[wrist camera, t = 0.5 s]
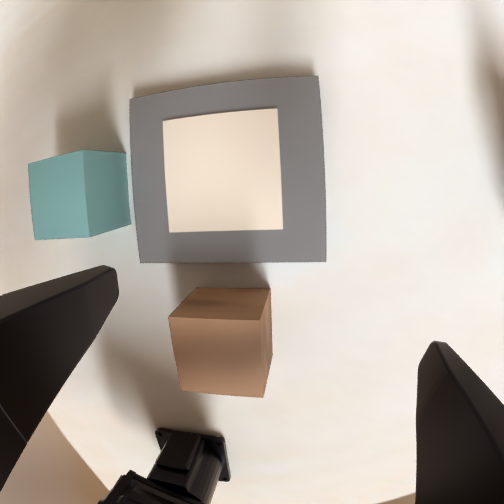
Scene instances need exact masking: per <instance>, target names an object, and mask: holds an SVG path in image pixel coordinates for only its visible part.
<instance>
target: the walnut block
mask: <svg viewBox="0 0 504 504" xmlns="http://www.w3.org/2000/svg"><path fill="white" fill-rule="evenodd" d="M168 319H169V326H170V332H171V338H172V344H173V350H174V355H175V361H176V366H177V372H178V377H179V382H180V387H181V390H182V391H190V392H199V393H208V394H219V395H230V396H244V397H261V398H263V396H264V392H265V387H266V383H267V378H268V374H269V369H270V365H271V360H272V355H273V354H272V319H271V289H270V288H196V289H195V290H194V291H193V292H192V293H191V294H190V295H189V296H188V297H187V298H186V299H185V300H184V301H183V302H182V303H181V304H180V305H179V306H178V307H177V308H176V309H175V310H174V311H173V312H172V313H171V314H170V315H169V316H168Z"/></svg>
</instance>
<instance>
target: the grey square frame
mask: <svg viewBox="0 0 504 504" xmlns="http://www.w3.org/2000/svg"><path fill="white" fill-rule="evenodd" d="M130 147H131V169H132V185H133V199H134V211H135V221H136V231H137V241H138V249H139V257H140V263H263V262H326V191H325V165H324V145H323V128H322V113H321V100H320V88H319V77H318V76H297V77H277V78H263V79H251V80H241V81H232V82H223V83H215V84H208V85H201V86H195V87H189V88H183V89H177V90H172V91H166V92H161V93H156V94H151V95H147V96H142V97H138V98H133V99H130Z"/></svg>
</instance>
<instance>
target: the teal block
mask: <svg viewBox="0 0 504 504" xmlns="http://www.w3.org/2000/svg"><path fill="white" fill-rule="evenodd" d="M28 171H29V189H30V202H31V212H32V221H33V230H34V237H35V240H46V239H65V238H85V237H92V236H95V235H98V234H101V233H104V232H108V231H111V230H114V229H117V228H120V227H124V226H127V225H130V224H131V219H130V208H129V196H128V182H127V164H126V153H122V152H109V151H95V150H80V151H76V152H71V153H67V154H63V155H59V156H55V157H52V158H48V159H44V160H41V161H37V162H34V163H30V164H28Z"/></svg>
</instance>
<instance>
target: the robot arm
mask: <svg viewBox="0 0 504 504" xmlns="http://www.w3.org/2000/svg"><path fill="white" fill-rule="evenodd" d="M118 296H119V288H118V281H117V273H116V270H115V269H114V268H112V267H108V266H105V265H102V266H98V267H94V268H91V269H87V270H84V271H80V272H77V273H74V274H70V275H67V276H63V277H60V278H56V279H53V280H50V281H46V282H43V283H40V284H36V285H33V286H30V287H26V288H23V289H20V290H16V291H13V292H10V293H7V294H3V295H2V296H0V491H1V490H2V488H3V486H4V484H5V482H6V480H7V478H8V477H9V474H10V473H11V471H12V469H13V467H14V466H15V464H16V462H17V460H18V459H19V457H20V455H21V453H22V452H23V450H24V448H25V446H26V445H27V442H28V441H29V439H30V438H31V436H32V434H33V433H34V431H35V429H36V428H37V426H38V424H39V423H40V421H41V419H42V418H43V416H44V415H45V413H46V411H47V410H48V408H49V407H50V405H51V404H52V402H53V400H54V399H55V397H56V396H57V394H58V393H59V391H60V390H61V388H62V386H63V385H64V383H65V382H66V380H67V379H68V377H69V376H70V374H71V373H72V371H73V370H74V368H75V367H76V365H77V364H78V363H79V361H80V360H81V358H82V357H83V355H84V354H85V352H86V351H87V349H88V348H89V347H90V345H91V344H92V342H93V341H94V339H95V338H96V336H97V334H98V333H99V331H100V329H101V327H102V325H103V324H104V322H105V320H106V318H107V317H108V315H109V313H110V311H111V310H112V308H113V306H114V305H115V303H116V301H117V299H118ZM155 434H156V437H157V441H158V444H159V447H160V449H161V452H160V454H159V456H158V458H157V459H156V462H155V464H154V466H153V468H152V470H151V471H150V473H149V475H148V477H147V479H146V478H144V477H142V476H140V475H138V474H136V472H134V471H132V470H129V472H128V473H127V474H126V475H123V476H122V475H121V476H120V478H119V479H118V481H117V483H116V484H115V486H114V487H113V488H112V489H111V490H110V491H109V492H108V493H107V494H106V495H105V496H104V497H103V498H102V499H101V500H100V501H99V502H98V504H210V503H211V500H212V497H213V494H214V491H215V488H216V485H217V482H218V481H225V482H228V481H230V477H231V476H230V470H229V464H228V458H227V451H226V445H225V440H224V439H223V438H221V437H215V436H207V435H200V434H193V433H186V432H180V431H174V430H169V429H163V428H157V430H156V431H155ZM416 441H417V470H416V498H415V504H504V405H503V404H502V402H501V401H500V400H499V399H498V398H497V397H496V396H495V394H494V393H493V392H492V391H491V390H490V389H489V388H488V387H487V386H486V384H485V383H484V382H483V381H482V380H481V379H480V378H479V377H478V376H477V375H476V374H475V372H474V371H473V370H472V369H471V368H470V367H469V366H468V365H467V364H466V363H465V362H464V361H463V360H462V359H461V358H460V357H459V355H458V354H457V353H456V352H455V351H454V350H453V349H452V348H451V347H450V346H449V345H448V344H447V343H445V342H439V341H433V342H432V343H431V344H430V345H429V347H428V349H427V351H426V352H425V354H424V356H423V358H422V360H421V361H420V363H419V367H418V384H417V406H416ZM219 442H220V443H219Z"/></svg>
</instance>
